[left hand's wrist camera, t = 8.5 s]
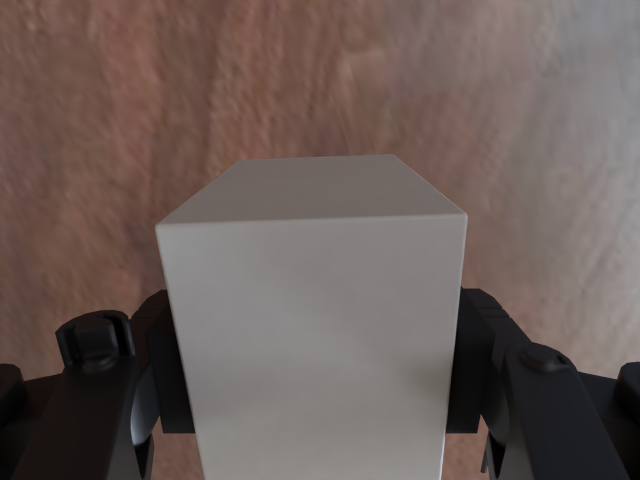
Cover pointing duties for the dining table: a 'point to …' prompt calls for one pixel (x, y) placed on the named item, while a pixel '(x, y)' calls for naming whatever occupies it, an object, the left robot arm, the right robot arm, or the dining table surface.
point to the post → (316, 317)
